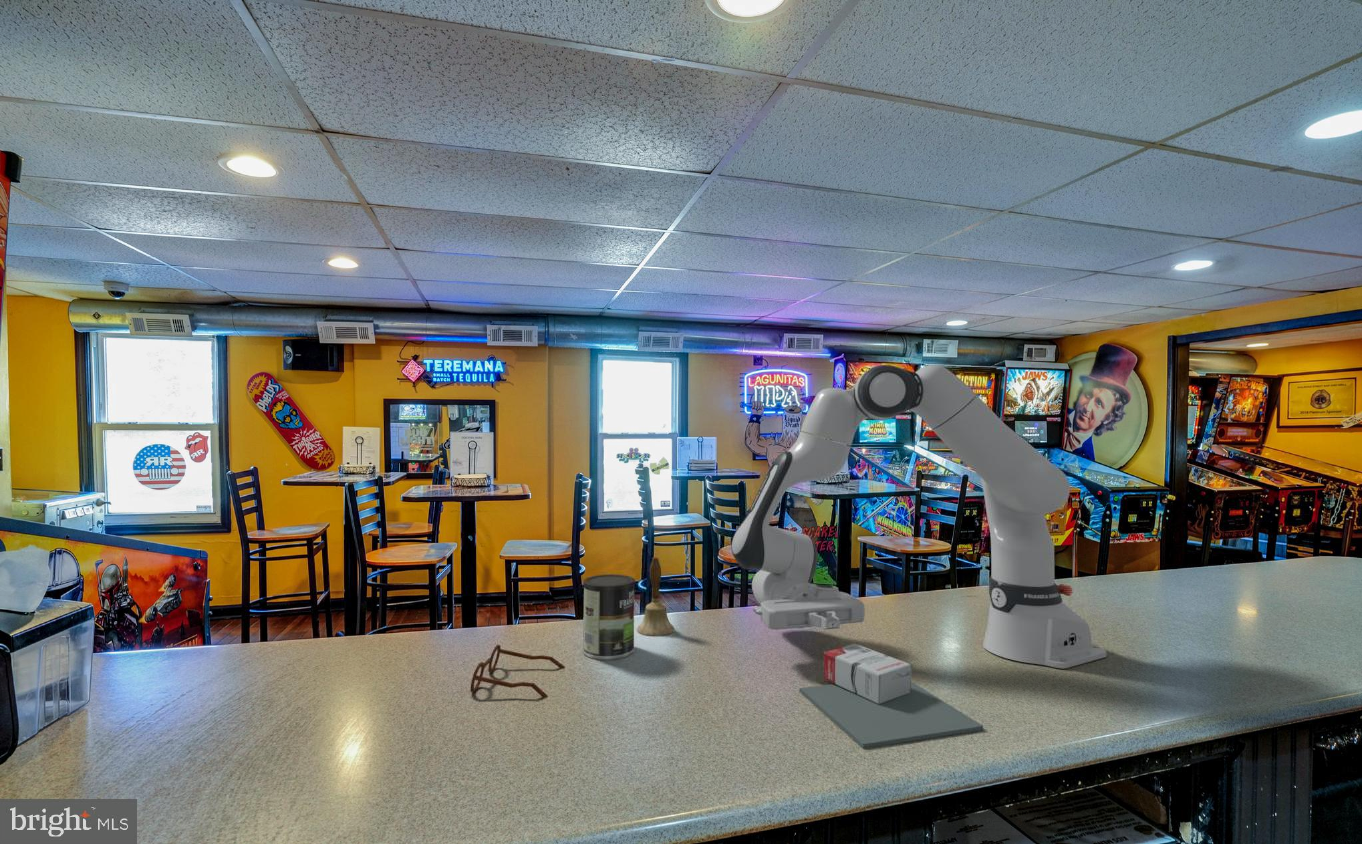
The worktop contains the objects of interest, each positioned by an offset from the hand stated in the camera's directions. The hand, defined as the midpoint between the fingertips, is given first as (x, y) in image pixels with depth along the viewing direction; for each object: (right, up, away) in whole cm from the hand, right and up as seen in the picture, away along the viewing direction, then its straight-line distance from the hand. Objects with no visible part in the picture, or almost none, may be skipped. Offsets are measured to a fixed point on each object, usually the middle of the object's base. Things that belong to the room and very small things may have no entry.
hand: (832, 624), depth 108 cm
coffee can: (-42, -9, +12) cm, 44 cm away
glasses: (-56, -9, -3) cm, 56 cm away
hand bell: (-33, -10, +25) cm, 42 cm away
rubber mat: (+5, -9, -13) cm, 17 cm away
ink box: (+1, -6, -1) cm, 6 cm away
